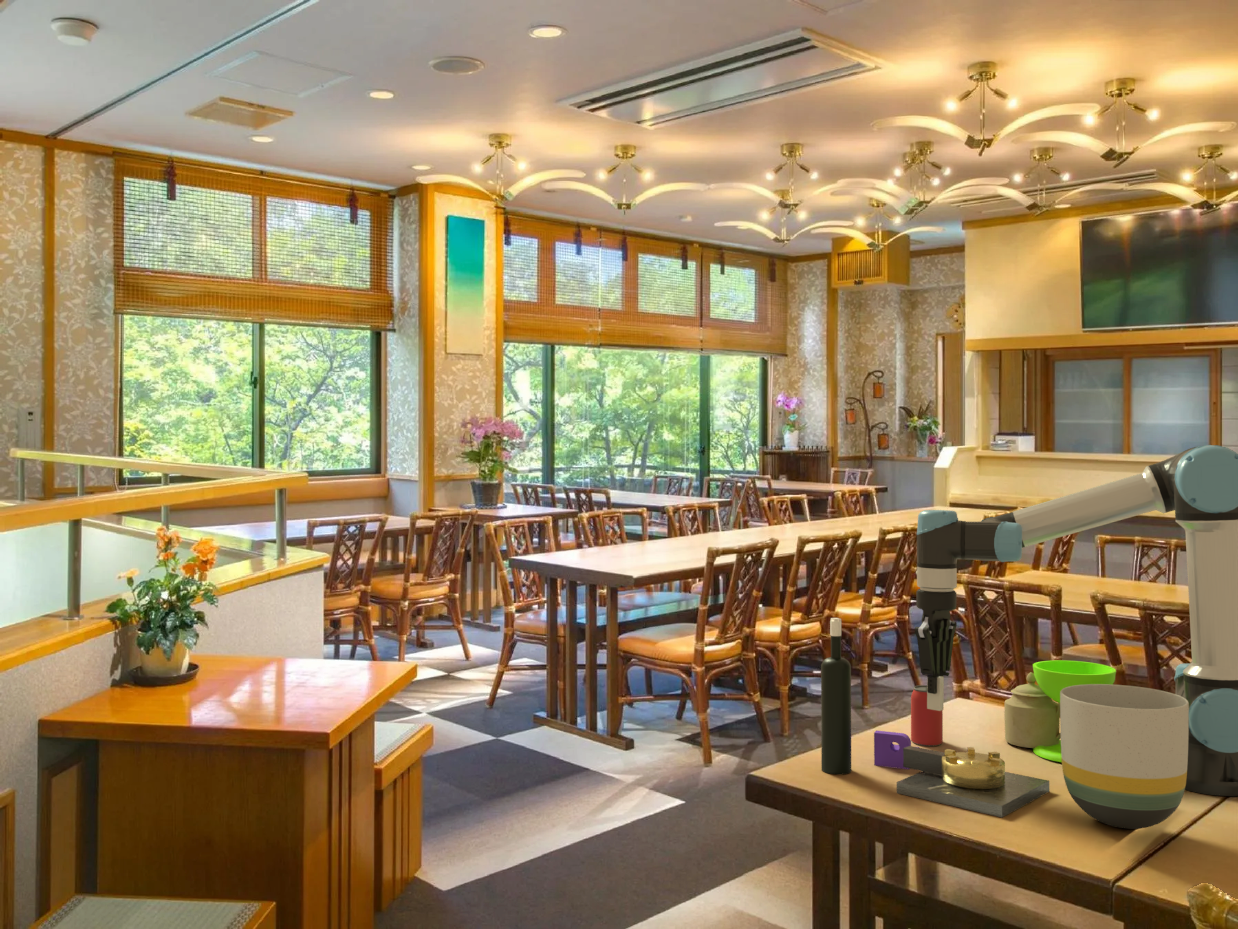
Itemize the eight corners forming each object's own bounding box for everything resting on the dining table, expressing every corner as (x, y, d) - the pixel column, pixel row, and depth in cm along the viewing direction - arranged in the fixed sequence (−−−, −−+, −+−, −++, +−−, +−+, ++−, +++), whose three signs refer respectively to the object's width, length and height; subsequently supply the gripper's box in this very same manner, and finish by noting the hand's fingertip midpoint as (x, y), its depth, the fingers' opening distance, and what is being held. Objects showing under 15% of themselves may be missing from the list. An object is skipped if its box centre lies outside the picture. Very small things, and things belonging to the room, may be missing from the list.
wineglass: (1047, 740, 235) (1047, 657, 235) (1125, 752, 225) (1125, 666, 225) (1021, 755, 223) (1021, 668, 223) (1103, 769, 212) (1103, 678, 212)
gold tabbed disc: (1015, 779, 198) (1015, 754, 198) (988, 792, 190) (988, 766, 190) (920, 760, 211) (920, 736, 211) (891, 771, 203) (891, 747, 203)
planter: (1048, 829, 178) (1048, 699, 178) (1072, 798, 194) (1072, 679, 194) (1181, 852, 167) (1181, 715, 167) (1194, 818, 183) (1194, 692, 183)
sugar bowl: (1074, 738, 234) (1073, 669, 234) (1083, 751, 224) (1083, 679, 224) (1001, 734, 238) (1001, 666, 238) (1007, 747, 227) (1007, 676, 227)
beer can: (944, 748, 229) (943, 691, 229) (912, 746, 230) (911, 690, 230) (941, 740, 235) (941, 685, 235) (910, 738, 236) (909, 684, 236)
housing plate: (1049, 791, 198) (1049, 779, 198) (1002, 817, 184) (1002, 805, 184) (948, 770, 212) (947, 759, 212) (896, 793, 198) (896, 781, 198)
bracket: (909, 771, 213) (908, 736, 213) (874, 767, 216) (874, 732, 216) (921, 756, 224) (920, 723, 224) (887, 752, 227) (887, 720, 227)
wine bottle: (817, 772, 211) (817, 619, 211) (826, 765, 216) (825, 615, 216) (846, 776, 208) (846, 621, 208) (854, 768, 213) (854, 617, 213)
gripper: (934, 584, 218) (933, 701, 218) (902, 589, 209) (901, 711, 209) (969, 588, 213) (968, 707, 213) (938, 593, 204) (937, 718, 204)
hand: (935, 709), depth 211 cm, fingers closed
